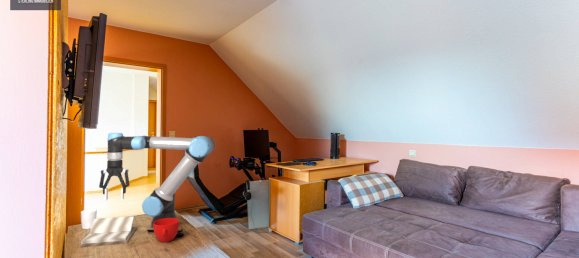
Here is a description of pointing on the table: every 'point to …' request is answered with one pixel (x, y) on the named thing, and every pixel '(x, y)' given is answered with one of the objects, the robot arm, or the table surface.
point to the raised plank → (112, 225)
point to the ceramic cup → (166, 229)
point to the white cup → (88, 218)
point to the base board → (107, 238)
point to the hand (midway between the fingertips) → (114, 199)
